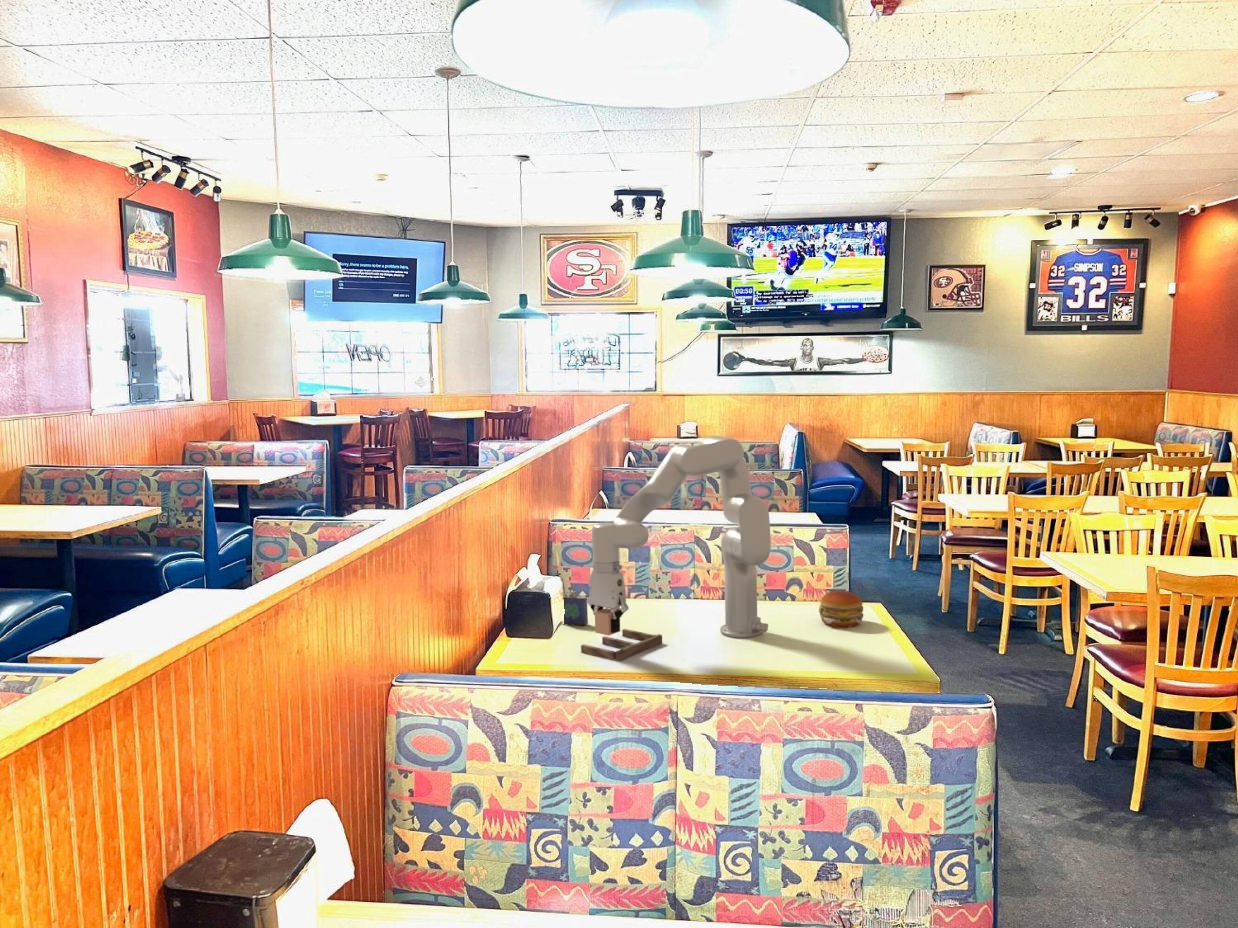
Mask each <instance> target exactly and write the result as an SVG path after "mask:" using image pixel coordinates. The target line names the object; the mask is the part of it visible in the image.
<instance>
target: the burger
mask: <svg viewBox="0 0 1238 928" xmlns="http://www.w3.org/2000/svg"><path fill="white" fill-rule="evenodd" d="M819 602H820V603H819V604H820V605H819V606H818V613H819V616H820V619H821V621H822V622H823V623H824V624H826V625H828V626H832V627H840V628H848V627H855V626H858V625H860V624H861V623H862V621H863V618H864V613H863V612H864V606H863V600H862V599H861V598H860V596H859V595H857V594H855V593H853V592H851V591H846V590H835V591H829V592H828V593H826V594H824V595H823V596H822V597H821V599H820V601H819Z"/></svg>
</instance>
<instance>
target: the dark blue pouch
mask: <svg viewBox="0 0 1238 928" xmlns="http://www.w3.org/2000/svg"><path fill="white" fill-rule="evenodd" d="M576 593H577V591H576V590H571V591H570V594H568V593H565V594H563V595H564V598H563V599H564V609H565V614H564V624H563V625H565V624H567V626H580V627H581V626H582V627H583V626H584V627H585V626H588V624H589V620H588V614H589V613H588V603H587V599H588V597H587V596H579V595H578V596H577V595H576Z"/></svg>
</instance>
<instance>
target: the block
mask: <svg viewBox="0 0 1238 928" xmlns="http://www.w3.org/2000/svg"><path fill="white" fill-rule="evenodd" d="M615 612H616V609H615ZM611 619H613V618H612V614H611V610H610V608H605V607H604V608H603V609H602V610H599V611H596V612H595V615H594V630H595V631H594V632H595V634H599V635H605V636H607V637H609V636H611V635H614V634H617V633H619V632H620V633H621V630H620V631H618V632H615V633H611Z"/></svg>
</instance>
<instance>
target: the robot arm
mask: <svg viewBox="0 0 1238 928" xmlns="http://www.w3.org/2000/svg"><path fill="white" fill-rule="evenodd" d="M744 454H745V452H744V447H743V445H742V443H741V442H739V440H737V439H735V438H732V437H727V436H726V437H725V436H721V435H720V436H719V435H711V436H706V437H705V438H704V439H702V441H701V442H700V445H690V444H682V443H680V444H677V445H674V446H673V447H671V448H670V450H669V451H668V452H667V454H665V456H664V458H663V460H662V461H661V463H660V464H659V465H658V467H657V468H656V470H655V472H654V473H653V475H652V476H651V477H650V479H649V480H648V481H647V482H646V484H645V485H644V486H643V487H641V489H639V490H638V491H637V492H636V493H635V494H634V495H633V496H631V498H629V500H628V501H627V502H626V503H625V504H623V505H624V506H623V507H621V510H620V511H619V513H618V514H617V515H616V517H615V519H614V520H613V521H612V522H598V523H595V524H594V525H592V529H591V531H592V534H591V535H592V539H591V540H592V543H591V544H592V571H591V575H590V581H589V582H590V583H589V584H590V585H589V596H588V597H587V605H588V606H589V607H590V609H591V611H592V612H593V613H592V614H593V615H594V616H595V612H596V611H599V610H602V609H605V608H609V609H610V610H611V614H612V618H613V619H611V633H615V632H617V633H619V632H618V631H620V632H621V618H622V617H623V615H624V614H625V613H626V612H627V611H628V610H629V606H628V603H627V595H626V585H625V579H624V575H623V571H621V570H622V569H623V565H622V564H621V563H620V561H621V560H620V549H632V550H633V549H634V550H635V549H639V548H642V547H643V546H645V545H646V544H647V542H648V541H649V530H648V529H647V527H646V526H645V525H644V524H643V523H642V522H643V521H644V520H645V518H646V517H647V516H648V515H649V514H650V513H652V512H653V511H655V510H656V509H658V508H660V507H662V506H665V505H667V504H669V503H670V502H672V500H673V499H674V498H675V496H676V494H677V493H678V492H679V490H680V488H681V487H682V485H683V484H684V483H685V481H686V480H687V479H688V477H689V476H690V477H698V476H703V475H705V476H706V475H711V474H714V473H718V475H719V478H720V484H721V496H722V497H721V498H722V499H721V501H722V512H723V516H724V517H725V520H727V521H728V522H731V523H732V524H735V525H738V526H736V527H731V528H729V529H728V530H726V531H725V533H724V534H723V536H722V537H721V543H720V544H721V554H722V558H723V568H724V611H725V614H724V615H725V616H724V617H725V624H723V625H722V626H720V629H719V630H720V633H721V634H722V635H724V636H726V637H727V636H728V637H731V638H740V639H741V638H743V639H744V638H745V639H746V638H754V637H758V636H760V635H762V634H763V633H767V632H768V630H769V629H768V628H769V623H767V622H766V623H764V622H762V619H761V618H762V617H758V572H757V566H761V565H762V564H764V563H765V562H766V561H768V558H769V557H770V555H771V549H772V540H771V524H770V523H771V521H770V513H769V508H768V506H767V504H766V502H765V501H764V500H763V499H762V498H761V497H759V496H758V495H755V494H753V493H752V488H751V478H750V470H749V468H748V466H747V465H748V464H747V463H746V461H745V459H744V456H745V455H744ZM615 610H616V612H615ZM615 634H616V633H615Z"/></svg>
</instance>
